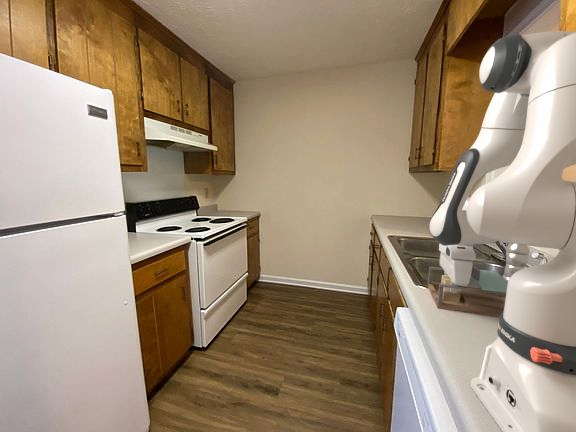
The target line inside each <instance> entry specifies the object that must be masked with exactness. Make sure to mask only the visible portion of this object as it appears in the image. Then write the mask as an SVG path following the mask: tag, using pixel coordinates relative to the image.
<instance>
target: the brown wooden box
mask: <svg viewBox="0 0 576 432" xmlns="http://www.w3.org/2000/svg"><path fill="white" fill-rule="evenodd" d="M434 271H443V272H445V271H444V270H443V268H442V267H437V266H436V267H435V266H429V268H428V278H427V279H428V280H427V289H428V291H429V294H430V295H431V298H432V299H433V302H434V303H435V305H436V309H439V310H447V311H450V312H451V311H453V312H460V313H466V314H472V315H480V316H487V317H491V318H498V319H500V315H501V314H502V313H503V312H504V305H505V300H504V299H503V298H502V297H501V296H500V295H502V296H506V293H505V292H497V291H489V290H482V289H481V288H480V287H479V288H478V287H474V286H473V287H470V286H456V285H448V284H441V282H439V283H433V273H434ZM444 287H447V288H455V289H461V292H460V301H459V303H455V302H448V301H443V300H442V299H443V290H444Z"/></svg>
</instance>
